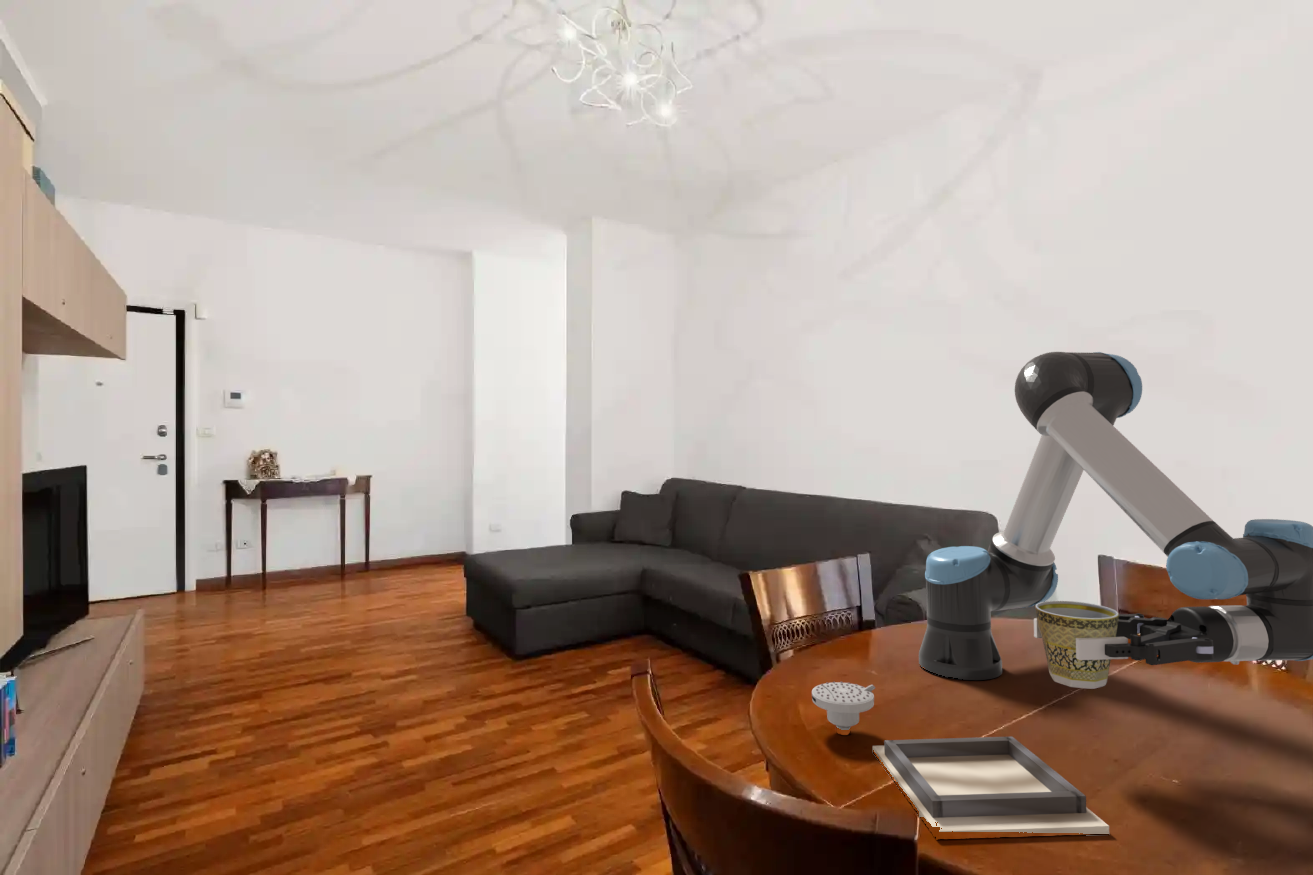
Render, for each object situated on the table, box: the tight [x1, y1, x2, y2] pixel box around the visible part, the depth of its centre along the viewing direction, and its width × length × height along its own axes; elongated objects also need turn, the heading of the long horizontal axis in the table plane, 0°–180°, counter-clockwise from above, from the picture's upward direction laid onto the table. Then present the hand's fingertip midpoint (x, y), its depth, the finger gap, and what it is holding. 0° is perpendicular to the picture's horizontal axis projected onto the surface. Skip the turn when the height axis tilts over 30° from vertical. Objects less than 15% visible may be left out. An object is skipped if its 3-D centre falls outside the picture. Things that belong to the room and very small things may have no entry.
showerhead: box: [811, 681, 876, 730], centre depth 107 cm, size 9×7×10 cm
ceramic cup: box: [1034, 600, 1120, 690], centre depth 96 cm, size 13×10×10 cm
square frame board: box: [872, 736, 1110, 835], centre depth 89 cm, size 22×20×3 cm
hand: (1055, 638), depth 95 cm, fingers closed on ceramic cup, 9 cm apart
